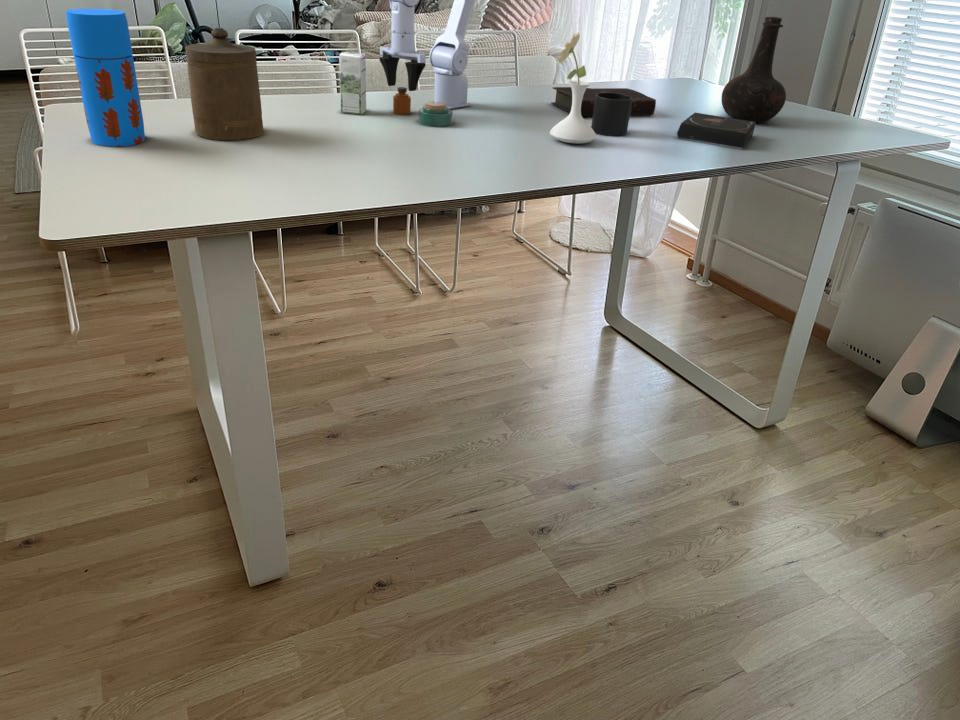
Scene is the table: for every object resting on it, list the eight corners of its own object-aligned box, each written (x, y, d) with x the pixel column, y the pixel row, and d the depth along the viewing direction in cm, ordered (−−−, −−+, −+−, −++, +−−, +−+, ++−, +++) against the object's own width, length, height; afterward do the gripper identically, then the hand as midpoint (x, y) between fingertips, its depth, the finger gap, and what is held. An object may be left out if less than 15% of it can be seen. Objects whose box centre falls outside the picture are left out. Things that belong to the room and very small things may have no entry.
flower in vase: (568, 133, 190) (581, 27, 178) (604, 143, 184) (620, 34, 171) (535, 140, 182) (546, 29, 169) (570, 150, 175) (585, 36, 163)
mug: (641, 133, 195) (647, 98, 191) (608, 137, 189) (614, 101, 184) (615, 125, 202) (621, 90, 197) (583, 129, 195) (588, 93, 191)
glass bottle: (713, 121, 215) (737, 15, 201) (720, 110, 230) (742, 11, 216) (777, 130, 210) (806, 22, 196) (780, 118, 225) (807, 18, 210)
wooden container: (234, 121, 178) (224, 22, 167) (276, 133, 171) (269, 30, 160) (181, 131, 167) (167, 25, 156) (223, 144, 160) (212, 34, 149)
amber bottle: (401, 110, 201) (402, 85, 198) (414, 113, 199) (414, 88, 196) (389, 112, 198) (389, 87, 195) (402, 115, 196) (402, 90, 192)
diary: (654, 116, 215) (657, 98, 213) (578, 118, 207) (580, 99, 204) (621, 102, 230) (624, 86, 227) (549, 104, 221) (551, 86, 219)
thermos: (157, 138, 161) (137, 12, 149) (121, 149, 152) (97, 16, 140) (116, 131, 164) (94, 7, 151) (78, 141, 155) (51, 10, 143)
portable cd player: (689, 126, 206) (692, 112, 204) (752, 137, 200) (755, 121, 198) (675, 138, 194) (678, 122, 191) (742, 149, 188) (746, 133, 185)
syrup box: (366, 110, 198) (366, 52, 191) (361, 115, 193) (360, 55, 186) (345, 108, 198) (344, 50, 191) (340, 113, 193) (338, 53, 186)
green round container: (434, 117, 196) (434, 98, 194) (458, 123, 192) (459, 104, 189) (411, 121, 190) (412, 102, 188) (436, 128, 186) (437, 108, 183)
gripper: (371, 29, 189) (371, 84, 196) (412, 36, 182) (411, 94, 189) (390, 27, 194) (390, 82, 201) (431, 35, 187) (430, 91, 193)
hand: (401, 88), depth 195 cm, fingers open, 7 cm apart
